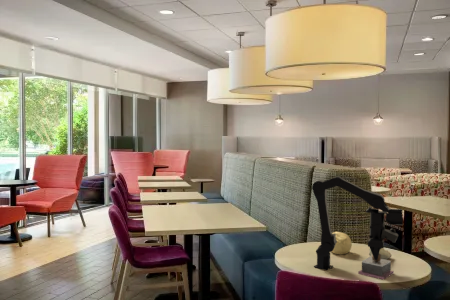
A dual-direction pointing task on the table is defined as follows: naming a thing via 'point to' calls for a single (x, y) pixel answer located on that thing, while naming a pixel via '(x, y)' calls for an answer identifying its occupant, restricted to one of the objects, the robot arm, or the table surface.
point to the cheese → (383, 254)
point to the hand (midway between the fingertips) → (376, 258)
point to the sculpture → (342, 243)
